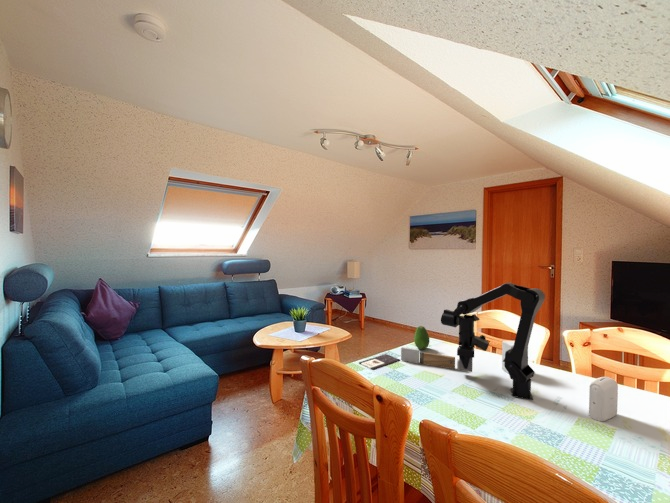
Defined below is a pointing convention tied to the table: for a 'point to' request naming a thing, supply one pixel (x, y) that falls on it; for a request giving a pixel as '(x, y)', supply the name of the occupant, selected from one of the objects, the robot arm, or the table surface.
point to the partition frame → (413, 355)
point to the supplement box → (505, 347)
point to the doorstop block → (467, 367)
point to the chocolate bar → (379, 361)
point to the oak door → (437, 360)
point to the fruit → (421, 338)
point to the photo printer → (603, 398)
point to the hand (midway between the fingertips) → (465, 366)
